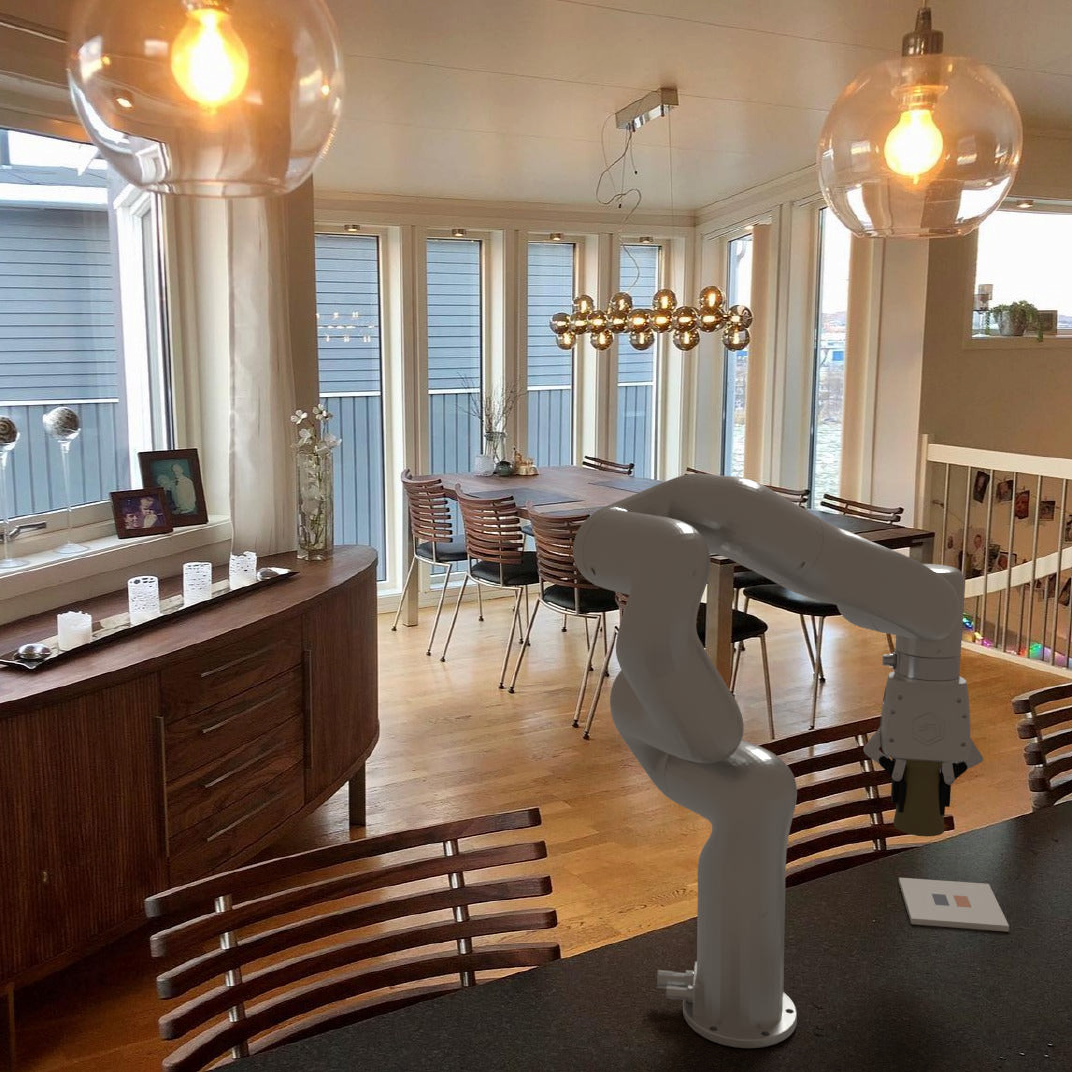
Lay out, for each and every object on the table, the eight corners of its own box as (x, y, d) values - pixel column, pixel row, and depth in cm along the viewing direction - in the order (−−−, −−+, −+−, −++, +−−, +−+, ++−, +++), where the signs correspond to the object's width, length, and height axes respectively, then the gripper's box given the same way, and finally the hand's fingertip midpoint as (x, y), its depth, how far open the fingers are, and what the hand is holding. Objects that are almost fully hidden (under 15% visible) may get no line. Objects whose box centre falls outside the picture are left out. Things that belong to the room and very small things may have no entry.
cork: (952, 836, 131) (956, 749, 130) (901, 836, 131) (906, 748, 130) (934, 817, 137) (939, 733, 136) (887, 817, 137) (891, 733, 136)
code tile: (911, 924, 142) (911, 918, 142) (898, 882, 153) (898, 877, 153) (1008, 931, 139) (1009, 925, 139) (988, 889, 151) (988, 883, 151)
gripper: (858, 670, 130) (852, 816, 132) (1007, 677, 127) (998, 827, 129) (852, 655, 137) (846, 794, 139) (993, 662, 134) (984, 804, 136)
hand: (919, 808), depth 134 cm, fingers closed on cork, 4 cm apart
